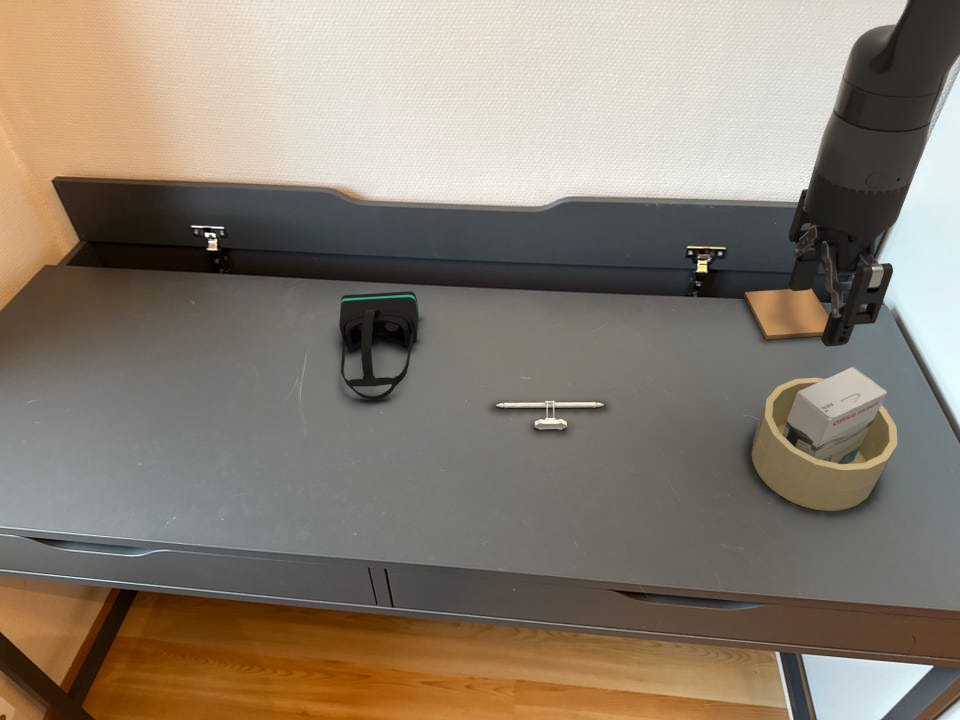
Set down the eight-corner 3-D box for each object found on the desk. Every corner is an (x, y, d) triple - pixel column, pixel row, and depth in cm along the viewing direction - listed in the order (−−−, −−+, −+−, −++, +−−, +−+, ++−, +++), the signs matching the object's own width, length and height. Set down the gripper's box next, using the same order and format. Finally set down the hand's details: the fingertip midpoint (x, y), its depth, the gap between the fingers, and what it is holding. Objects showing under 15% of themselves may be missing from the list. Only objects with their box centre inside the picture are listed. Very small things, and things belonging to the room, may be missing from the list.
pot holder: (809, 291, 107) (810, 287, 106) (836, 334, 100) (838, 330, 99) (743, 296, 107) (744, 292, 106) (765, 339, 100) (767, 335, 99)
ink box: (824, 433, 86) (853, 363, 78) (856, 461, 83) (890, 391, 75) (769, 459, 84) (794, 390, 76) (800, 489, 80) (830, 420, 72)
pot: (844, 416, 88) (863, 374, 83) (895, 507, 79) (921, 465, 73) (736, 424, 89) (749, 381, 83) (774, 514, 79) (790, 473, 74)
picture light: (603, 404, 92) (604, 393, 91) (606, 429, 89) (607, 418, 88) (496, 405, 93) (495, 394, 92) (495, 430, 90) (495, 419, 88)
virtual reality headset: (419, 317, 107) (411, 268, 99) (417, 407, 96) (408, 360, 88) (347, 321, 107) (333, 273, 99) (336, 411, 96) (320, 365, 88)
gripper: (955, 205, 53) (886, 361, 64) (872, 123, 63) (825, 269, 75) (855, 214, 53) (804, 367, 64) (788, 130, 64) (754, 275, 75)
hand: (815, 314), depth 69 cm, fingers open, 8 cm apart
